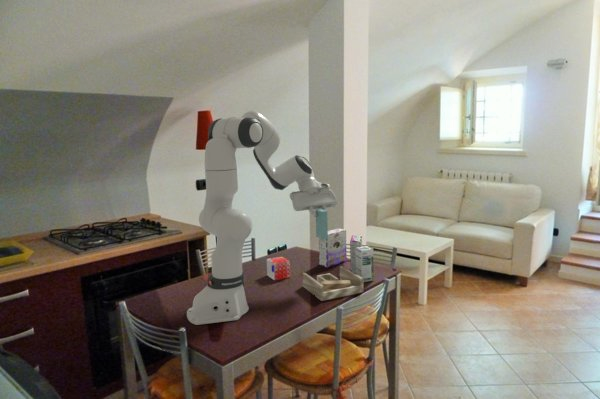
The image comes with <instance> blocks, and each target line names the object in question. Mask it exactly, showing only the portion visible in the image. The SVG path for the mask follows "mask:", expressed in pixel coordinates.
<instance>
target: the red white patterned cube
mask: <svg viewBox="0 0 600 399" xmlns="http://www.w3.org/2000/svg"><path fill="white" fill-rule="evenodd" d="M266 274H267V276H268V277H269V278H270V279H272V280H273V281H278V280H279V281H280V280H285V279H288V278H291V261H290V260H289V259H288V258H286V257H284V256H277V257H271V258H266ZM284 278H285V279H284Z"/></svg>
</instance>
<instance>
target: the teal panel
mask: <svg viewBox="0 0 600 399" xmlns="http://www.w3.org/2000/svg"><path fill="white" fill-rule="evenodd" d="M315 212H318V217H315V235H316V236H315V237H316V238H318V239H319V238H320V239H322V240H324V239H328V231H329V230H328V228H329V227H328V225H329V224H328V210H327V209H326V210H323V209H321V208H320V209H315Z"/></svg>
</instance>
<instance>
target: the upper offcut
mask: <svg viewBox="0 0 600 399" xmlns="http://www.w3.org/2000/svg"><path fill="white" fill-rule="evenodd" d="M321 284H322V285H324V290H328V289H341V288H346V287H351V282H350V280H340V279H339V280H334V281H321Z"/></svg>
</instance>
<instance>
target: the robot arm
mask: <svg viewBox="0 0 600 399" xmlns="http://www.w3.org/2000/svg"><path fill="white" fill-rule="evenodd" d="M207 136H208V141H207V142H206V145H205V151H204V175H205V190H206V191H205V200H204V205H203V209H201V211H200V213H199V216H198V222H199V225H200V227H201V228H202V229H203V230H204V231H205V232H206V233H208V234H211V235H213V236H215V237H216V246H215V249H214V250H213V251H212V252H211V256H210V259H211V275H209V274H204V276H203V280H204V281H205V282H206V286H205V287H204V288H203V289H201V291H199V292H198V293H197V294H196V295H195V296H194V298H193V301H192V306H191V307H190V308H188V309H187V310H186V318H187V320H188V322H190V323H191V324H193V325H195V326H198V325H199V326H200V325H206V324H208V325H209V324H214V323H222V322H231V321H238V320H239V319H240V318H241V317H242V316H243V315H245V314H247V312H249V309H250V307H249V305H248V302H247V297H246V293H245V284H246V282H245V273H244V272H243V250H244V245H245V242H246V240H247V238H248V237H250V236H251V233H252V230H253V222H252V219H251V218H250V217H249V215H247V214H246V213H244V212H243V211H241V210H239V209H235V208H233V200H234V197H235V194H236V193H237V192H238V189H239V183H238V169H237V168H238V167H237V160H236V152H237V149H244V148H247V149H251V148H253V150H252V152H253V156H254V158H255V161H256V163H257V164H258V165H259V168H260V169H261V170H262V171H263V173H264V175H265V176H266V177H267V179H268V181H269V183H270V184H271V186H272V188H274V189H275V190H279V191H283V190H284V189H286V188H287V187H289V186H290V185H291V184H293V183H297V185H298V186H297V187H298V190H299V191H291V193H290V194H289V198H290V200H291V202H292V208H293V210H294V211H295V212H302V211H308V212H309V213H310V214H312V216H313V218H316V217H318V212H316V209H323V210H326V211H327V209H328V208H329V209H330V208H334V207H336V205H338V198H337V196H336V194H335V193H334V191H333V190H332V189H330V188H331V185H330V184H329V183H324V182H320V181H318V180H317V179H316V178H315V173H314V171H313V168H312V166H311V164H310V162H309V161H308V159H307V157H305V156H301V155H298V154H297V155H294V156H292V157H290V158H289V159H287V160H286V161H284V162H282V163H281V164H280V165H277V166H275V167H274V166H273V165H272V164H271V162H270V158H271V157H272V156H273V154H275V152H276V151H278V149H279V147H280V144H281V135H280V132H279V130H278V129H277V128H276V126H275V125H274V124H273V123H272V122H271V121H270V120H269V119H268V118H267V117H265V115H263V114H262V113H260V112H259V111H257V110H249V111H246V112H245V113H243V115H241V117H238V116H237V117H236V116H233V117H231V116H230V117H225V118H223V117H222V118H217V119H215V120H213V121H212V122H211V123H210V125H209V127H208V131H207Z"/></svg>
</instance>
